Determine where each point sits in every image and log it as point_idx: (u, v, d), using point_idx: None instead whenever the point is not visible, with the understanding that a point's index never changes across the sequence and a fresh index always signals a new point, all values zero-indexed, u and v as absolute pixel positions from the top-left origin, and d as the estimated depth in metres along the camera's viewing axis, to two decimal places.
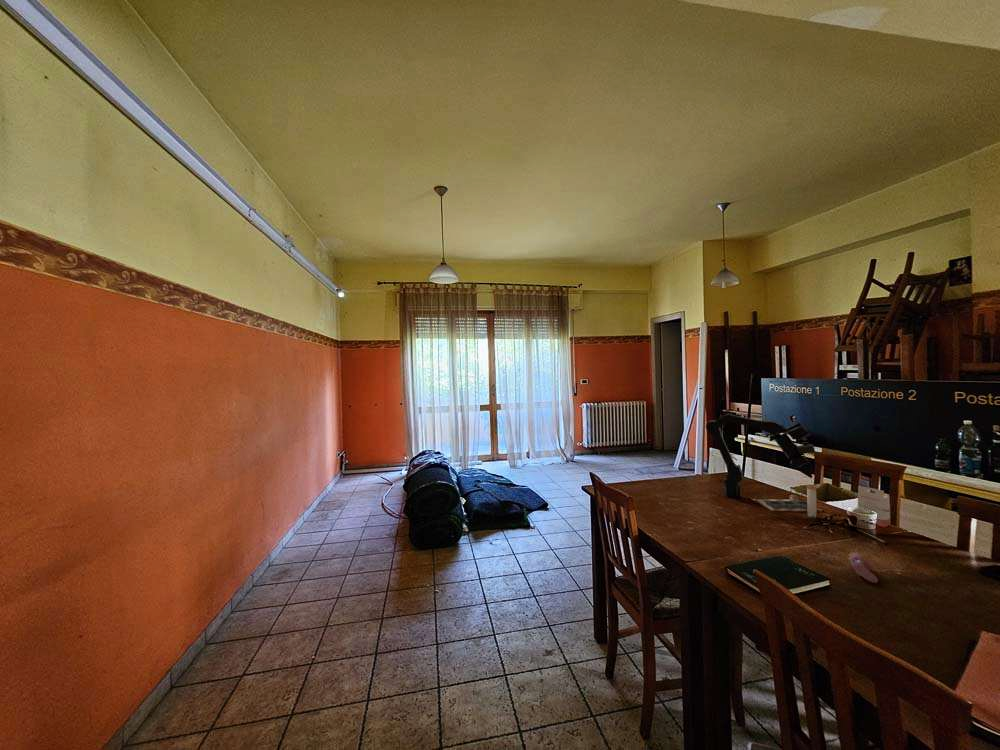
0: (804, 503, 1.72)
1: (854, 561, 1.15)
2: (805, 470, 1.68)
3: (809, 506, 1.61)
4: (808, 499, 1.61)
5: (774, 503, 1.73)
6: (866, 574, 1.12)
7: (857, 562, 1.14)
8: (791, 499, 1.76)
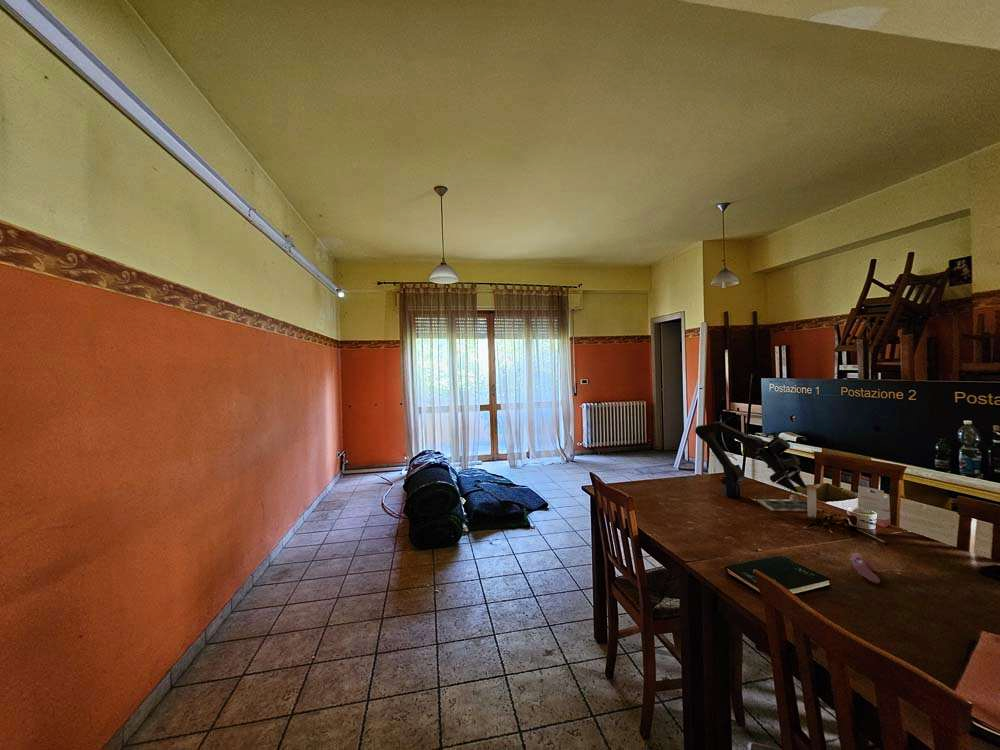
0: (804, 503, 1.72)
1: (856, 561, 1.15)
2: (788, 484, 1.64)
3: (809, 506, 1.61)
4: (808, 499, 1.61)
5: (774, 503, 1.73)
6: (868, 574, 1.12)
7: (859, 562, 1.14)
8: (791, 499, 1.76)
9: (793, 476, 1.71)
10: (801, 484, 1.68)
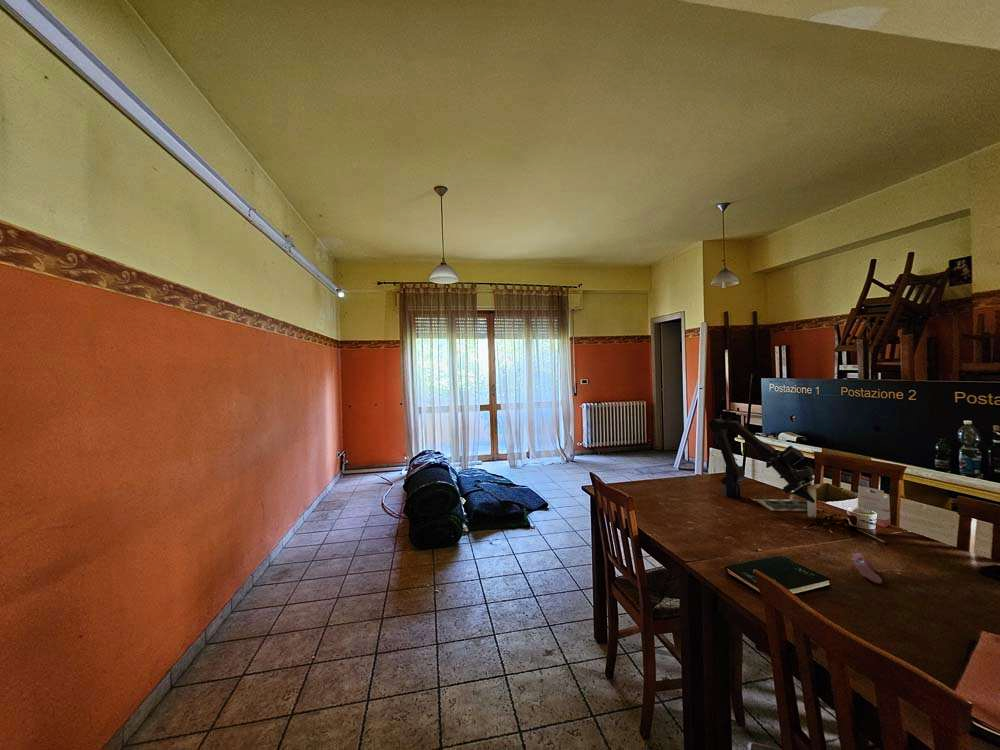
0: (804, 503, 1.72)
1: (858, 562, 1.14)
2: (804, 494, 1.61)
3: (809, 506, 1.61)
4: None
5: (774, 503, 1.73)
6: (870, 574, 1.12)
7: (861, 562, 1.14)
8: (791, 499, 1.76)
9: None
10: None
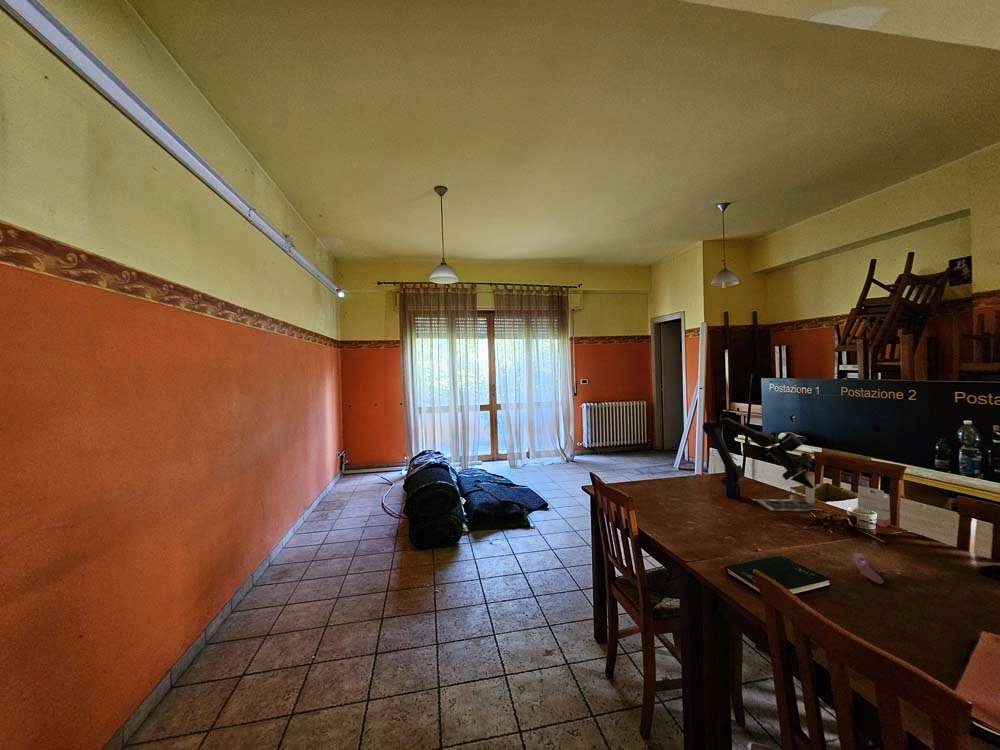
0: (804, 503, 1.72)
1: (859, 562, 1.14)
2: (803, 480, 1.63)
3: (807, 492, 1.62)
4: None
5: (774, 503, 1.73)
6: (872, 575, 1.12)
7: (862, 562, 1.14)
8: (791, 499, 1.76)
9: None
10: None
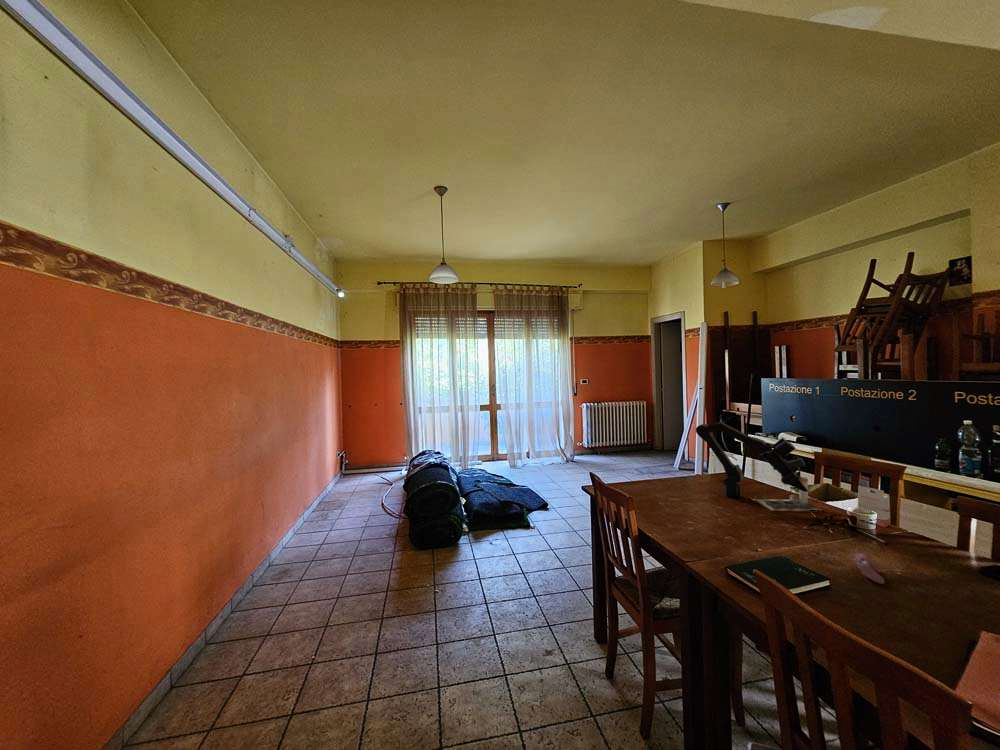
0: None
1: (860, 562, 1.14)
2: (798, 485, 1.68)
3: (802, 497, 1.69)
4: (801, 491, 1.69)
5: (774, 503, 1.73)
6: (873, 575, 1.11)
7: (863, 563, 1.14)
8: (791, 499, 1.76)
9: None
10: None
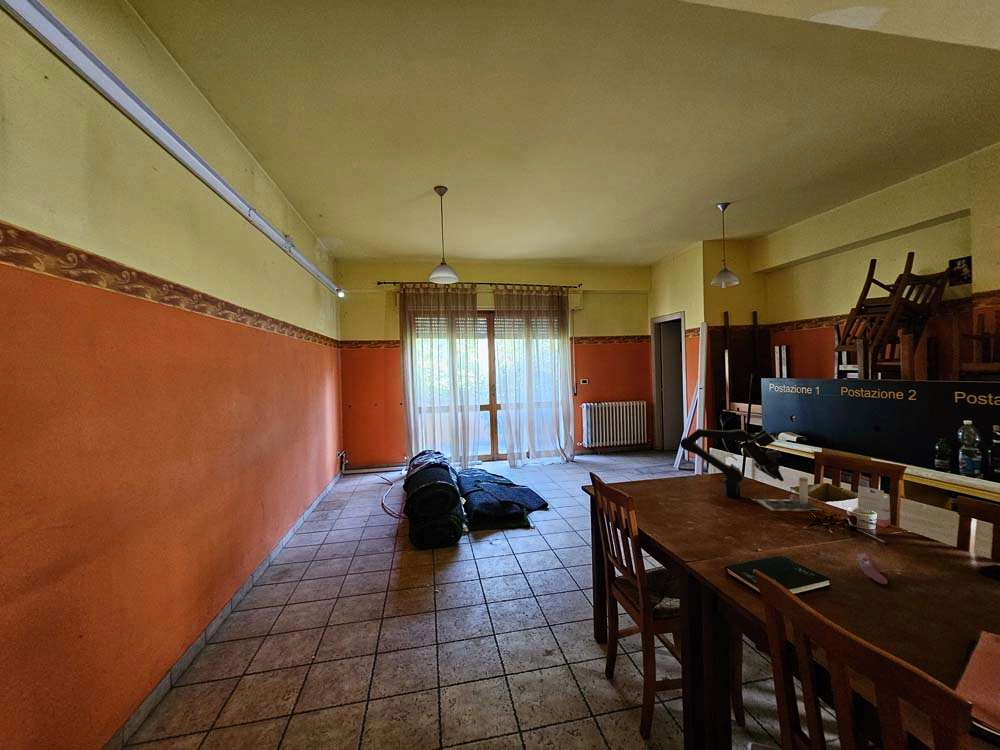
0: None
1: (863, 562, 1.14)
2: (777, 474, 1.74)
3: (802, 497, 1.69)
4: (801, 490, 1.69)
5: (774, 503, 1.73)
6: (876, 575, 1.11)
7: (866, 563, 1.13)
8: (791, 499, 1.76)
9: None
10: None
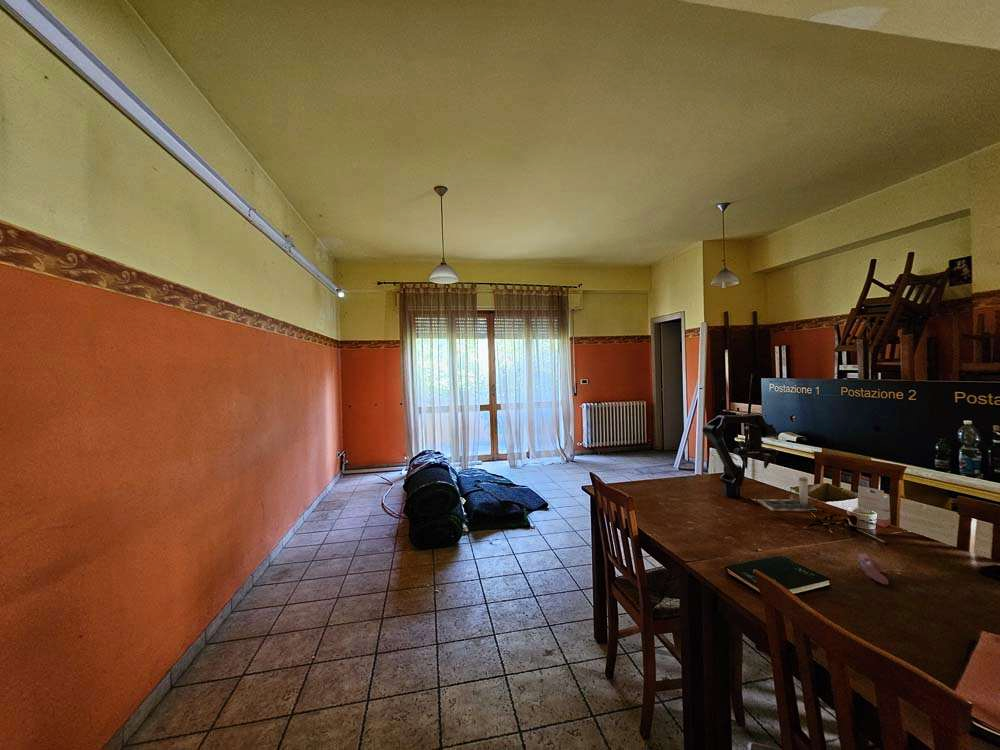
0: None
1: (864, 563, 1.14)
2: None
3: (802, 497, 1.69)
4: (801, 490, 1.69)
5: (774, 503, 1.73)
6: (877, 575, 1.11)
7: (867, 563, 1.13)
8: (791, 499, 1.76)
9: None
10: None
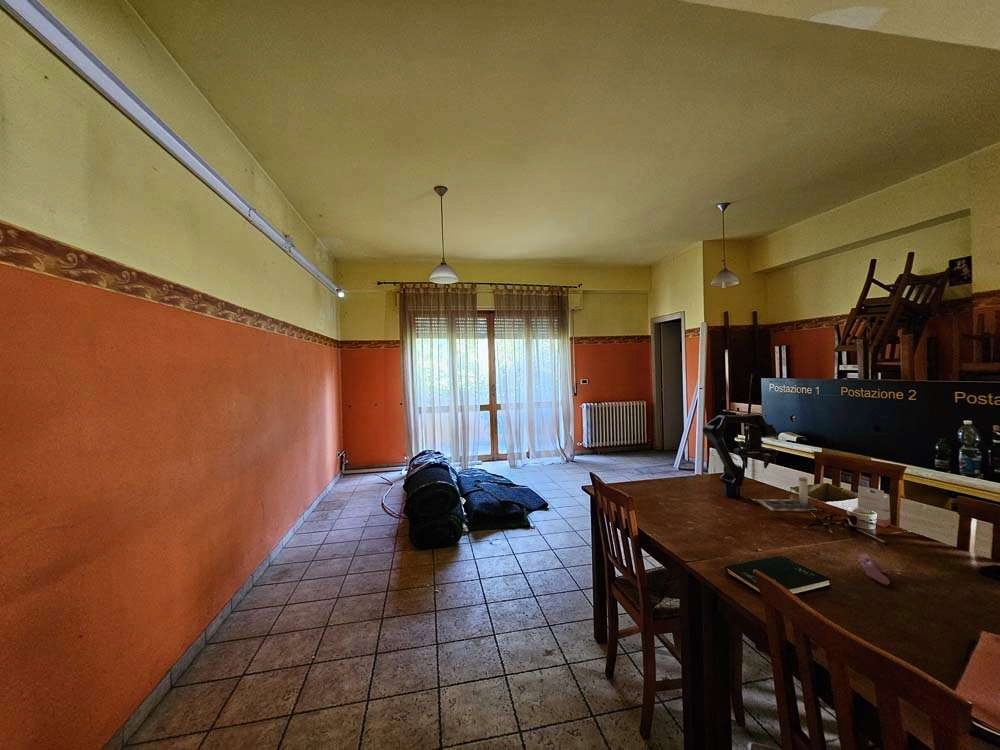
0: None
1: (865, 563, 1.14)
2: None
3: (802, 497, 1.69)
4: (801, 490, 1.69)
5: (774, 503, 1.73)
6: (878, 575, 1.11)
7: (868, 563, 1.13)
8: (791, 499, 1.76)
9: None
10: None
